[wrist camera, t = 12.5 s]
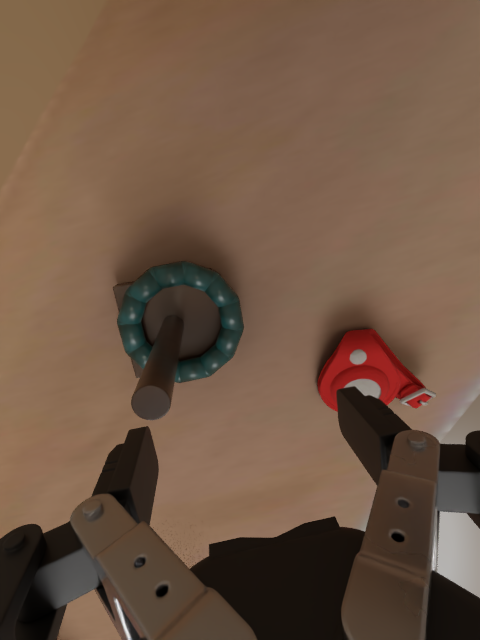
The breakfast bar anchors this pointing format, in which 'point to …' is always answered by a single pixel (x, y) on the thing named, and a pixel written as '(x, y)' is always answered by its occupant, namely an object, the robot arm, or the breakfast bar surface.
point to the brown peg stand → (170, 342)
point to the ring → (196, 279)
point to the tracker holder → (369, 372)
